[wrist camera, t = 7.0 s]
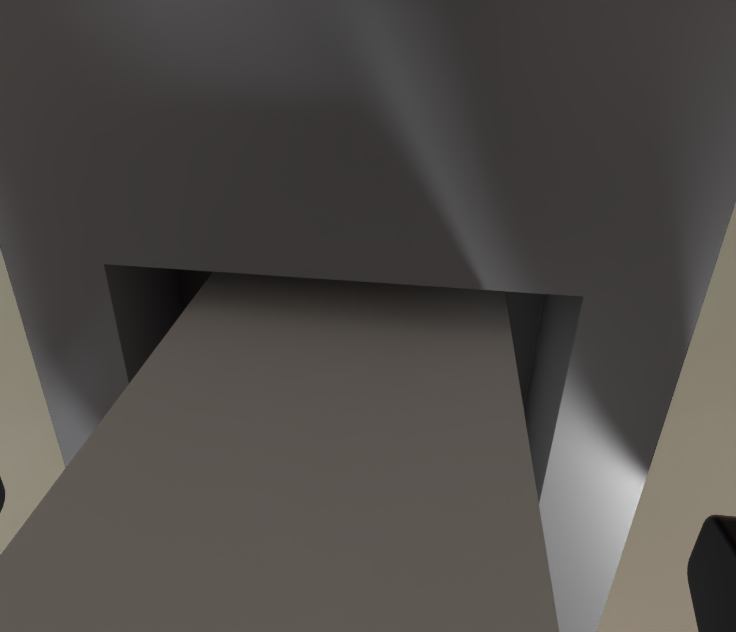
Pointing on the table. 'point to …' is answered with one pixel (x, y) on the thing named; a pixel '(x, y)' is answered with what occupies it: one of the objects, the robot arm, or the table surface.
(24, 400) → the table surface
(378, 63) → the pdu strip
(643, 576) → the table surface
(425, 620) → the plug
